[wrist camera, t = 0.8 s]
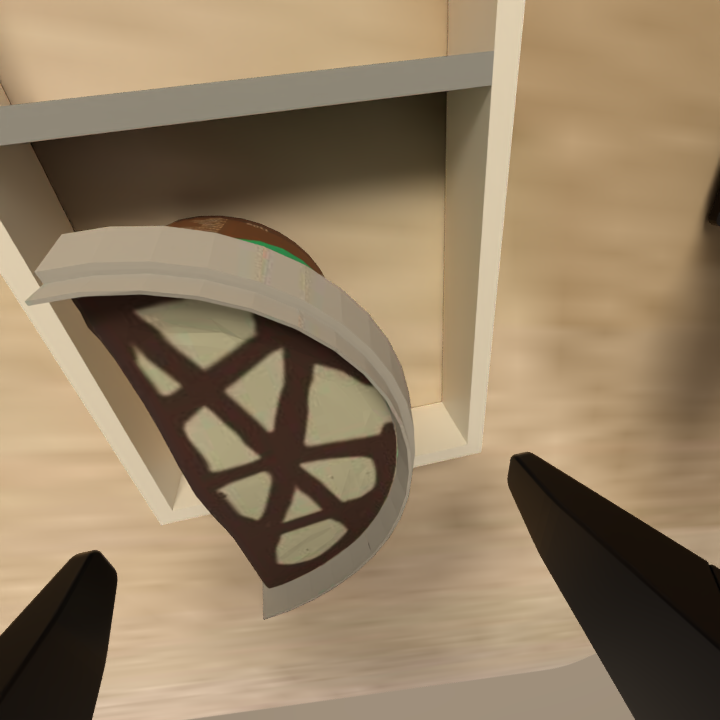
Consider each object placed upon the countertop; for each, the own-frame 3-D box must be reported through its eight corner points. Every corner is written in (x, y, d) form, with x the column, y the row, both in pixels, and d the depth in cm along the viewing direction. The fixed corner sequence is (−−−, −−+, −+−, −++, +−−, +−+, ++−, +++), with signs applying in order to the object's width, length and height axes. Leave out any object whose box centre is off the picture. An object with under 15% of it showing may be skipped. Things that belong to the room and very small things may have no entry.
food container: (379, 392, 21) (450, 570, 13) (269, 423, 21) (269, 627, 13) (324, 138, 14) (398, 169, 6) (159, 178, 14) (-1, 269, 6)
